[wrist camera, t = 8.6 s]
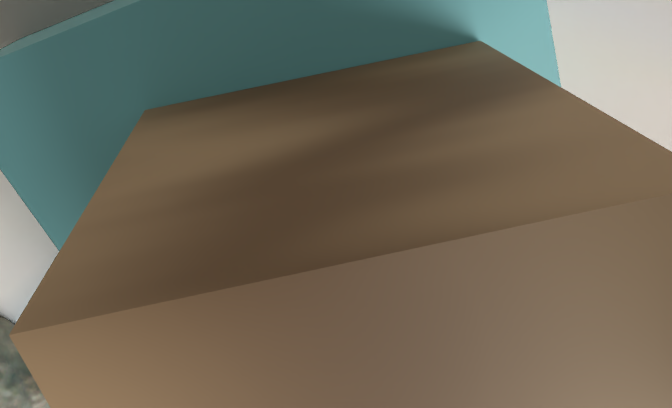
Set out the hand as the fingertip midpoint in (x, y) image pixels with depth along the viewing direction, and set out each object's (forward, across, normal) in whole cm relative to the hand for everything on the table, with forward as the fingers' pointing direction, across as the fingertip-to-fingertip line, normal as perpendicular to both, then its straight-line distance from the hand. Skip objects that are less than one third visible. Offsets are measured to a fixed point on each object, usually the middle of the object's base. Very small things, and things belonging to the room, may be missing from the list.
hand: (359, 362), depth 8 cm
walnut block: (+4, 0, 0) cm, 4 cm away
